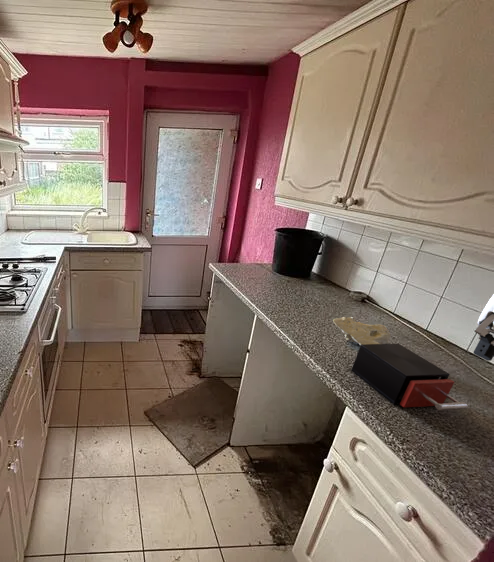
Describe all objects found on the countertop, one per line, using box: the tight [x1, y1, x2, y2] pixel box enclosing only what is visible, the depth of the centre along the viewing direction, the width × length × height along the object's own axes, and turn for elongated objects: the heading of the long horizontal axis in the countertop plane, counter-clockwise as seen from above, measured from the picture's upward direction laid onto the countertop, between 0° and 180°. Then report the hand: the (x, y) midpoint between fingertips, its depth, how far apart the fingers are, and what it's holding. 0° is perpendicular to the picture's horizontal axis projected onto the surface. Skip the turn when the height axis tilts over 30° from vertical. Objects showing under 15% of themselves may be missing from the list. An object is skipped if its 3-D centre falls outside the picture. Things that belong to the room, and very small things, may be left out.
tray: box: [398, 377, 469, 411], centre depth 84 cm, size 19×11×8 cm, turn 5°
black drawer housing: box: [351, 343, 450, 406], centre depth 89 cm, size 15×13×10 cm
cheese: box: [332, 316, 391, 346], centre depth 110 cm, size 15×7×15 cm
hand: (488, 356), depth 73 cm, fingers closed
